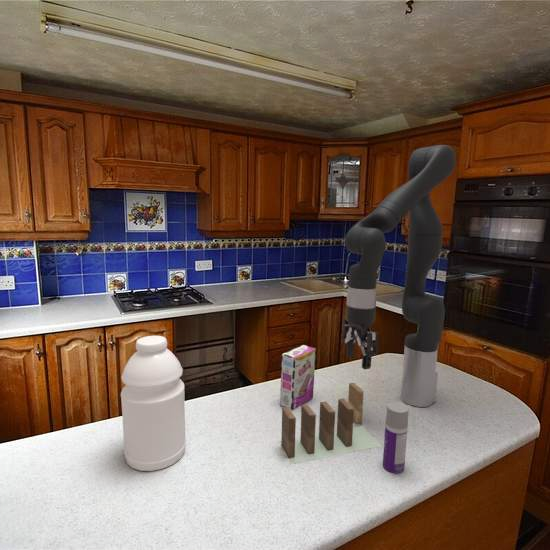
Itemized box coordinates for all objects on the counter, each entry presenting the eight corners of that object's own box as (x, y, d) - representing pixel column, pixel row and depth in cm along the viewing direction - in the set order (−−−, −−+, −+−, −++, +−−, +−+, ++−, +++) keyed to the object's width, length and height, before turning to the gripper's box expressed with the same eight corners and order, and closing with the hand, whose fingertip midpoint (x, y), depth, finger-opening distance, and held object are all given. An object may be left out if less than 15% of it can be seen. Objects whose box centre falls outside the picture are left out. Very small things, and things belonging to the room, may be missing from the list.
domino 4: (342, 434, 96) (344, 398, 95) (351, 446, 92) (353, 408, 90) (336, 435, 96) (338, 399, 94) (346, 447, 91) (348, 409, 90)
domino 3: (324, 437, 95) (326, 401, 93) (333, 449, 90) (335, 411, 88) (318, 438, 94) (320, 402, 93) (327, 450, 90) (329, 412, 88)
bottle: (197, 442, 93) (195, 334, 88) (162, 479, 80) (158, 355, 75) (150, 430, 97) (145, 327, 93) (110, 463, 85) (103, 345, 80)
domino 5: (352, 415, 106) (354, 382, 105) (361, 425, 102) (363, 390, 100) (347, 416, 106) (349, 383, 104) (356, 426, 101) (358, 391, 99)
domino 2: (306, 441, 93) (307, 404, 92) (314, 453, 89) (315, 414, 87) (300, 442, 93) (301, 404, 91) (308, 454, 88) (309, 415, 86)
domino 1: (287, 444, 92) (288, 406, 90) (294, 457, 87) (295, 417, 85) (281, 445, 91) (282, 407, 90) (288, 458, 87) (289, 418, 85)
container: (378, 464, 86) (382, 403, 83) (394, 459, 87) (399, 400, 85) (391, 477, 81) (396, 414, 79) (408, 473, 83) (413, 410, 81)
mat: (362, 427, 100) (362, 425, 100) (381, 447, 92) (381, 445, 92) (277, 442, 93) (278, 441, 93) (290, 465, 85) (290, 464, 85)
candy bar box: (293, 412, 107) (294, 358, 105) (279, 406, 111) (280, 353, 108) (314, 398, 116) (316, 347, 113) (301, 392, 119) (302, 343, 116)
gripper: (389, 309, 93) (384, 371, 95) (359, 297, 106) (356, 351, 109) (362, 311, 90) (358, 374, 93) (335, 298, 104) (333, 354, 106)
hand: (357, 362), depth 101 cm, fingers open, 8 cm apart
